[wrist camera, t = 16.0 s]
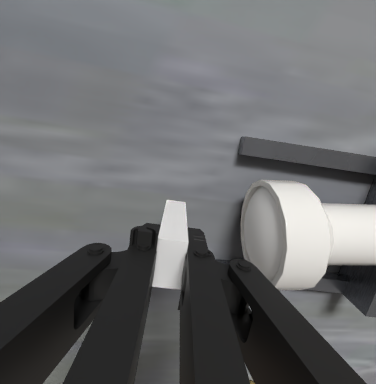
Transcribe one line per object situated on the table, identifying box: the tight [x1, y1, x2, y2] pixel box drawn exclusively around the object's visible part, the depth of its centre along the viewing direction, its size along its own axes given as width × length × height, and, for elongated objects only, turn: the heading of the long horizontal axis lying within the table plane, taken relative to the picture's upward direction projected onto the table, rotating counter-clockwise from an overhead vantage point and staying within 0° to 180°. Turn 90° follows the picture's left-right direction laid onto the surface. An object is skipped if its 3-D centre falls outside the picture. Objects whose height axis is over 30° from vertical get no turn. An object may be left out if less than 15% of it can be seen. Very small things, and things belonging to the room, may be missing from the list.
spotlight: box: [240, 180, 376, 290], centre depth 16 cm, size 8×11×8 cm
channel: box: [216, 137, 376, 317], centre depth 18 cm, size 16×14×6 cm
